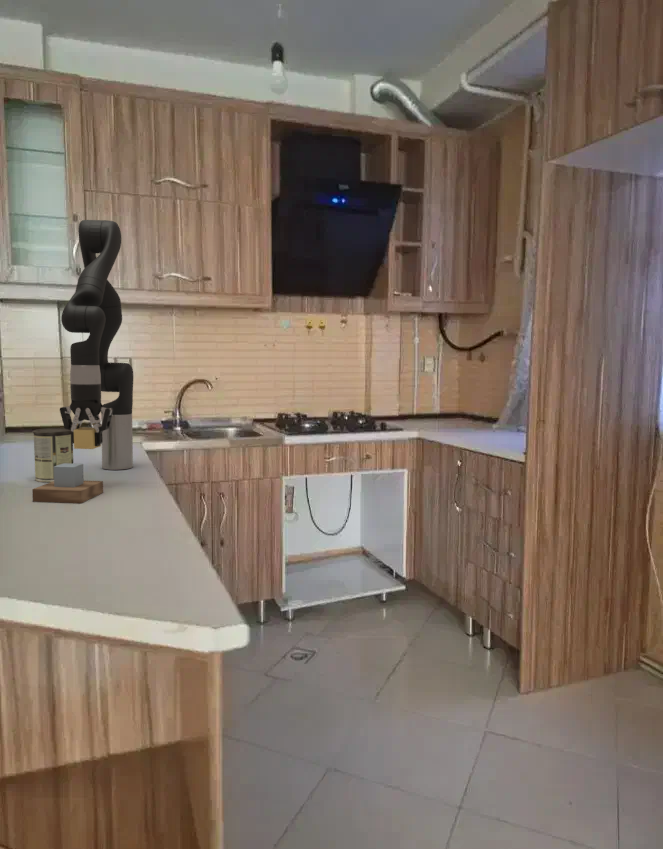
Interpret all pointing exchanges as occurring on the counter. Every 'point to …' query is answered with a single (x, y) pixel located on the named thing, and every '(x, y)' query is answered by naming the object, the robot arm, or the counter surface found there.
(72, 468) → the slate block
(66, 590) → the counter surface
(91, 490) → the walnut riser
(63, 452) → the coffee can
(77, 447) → the ochre block
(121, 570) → the counter surface
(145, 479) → the counter surface
